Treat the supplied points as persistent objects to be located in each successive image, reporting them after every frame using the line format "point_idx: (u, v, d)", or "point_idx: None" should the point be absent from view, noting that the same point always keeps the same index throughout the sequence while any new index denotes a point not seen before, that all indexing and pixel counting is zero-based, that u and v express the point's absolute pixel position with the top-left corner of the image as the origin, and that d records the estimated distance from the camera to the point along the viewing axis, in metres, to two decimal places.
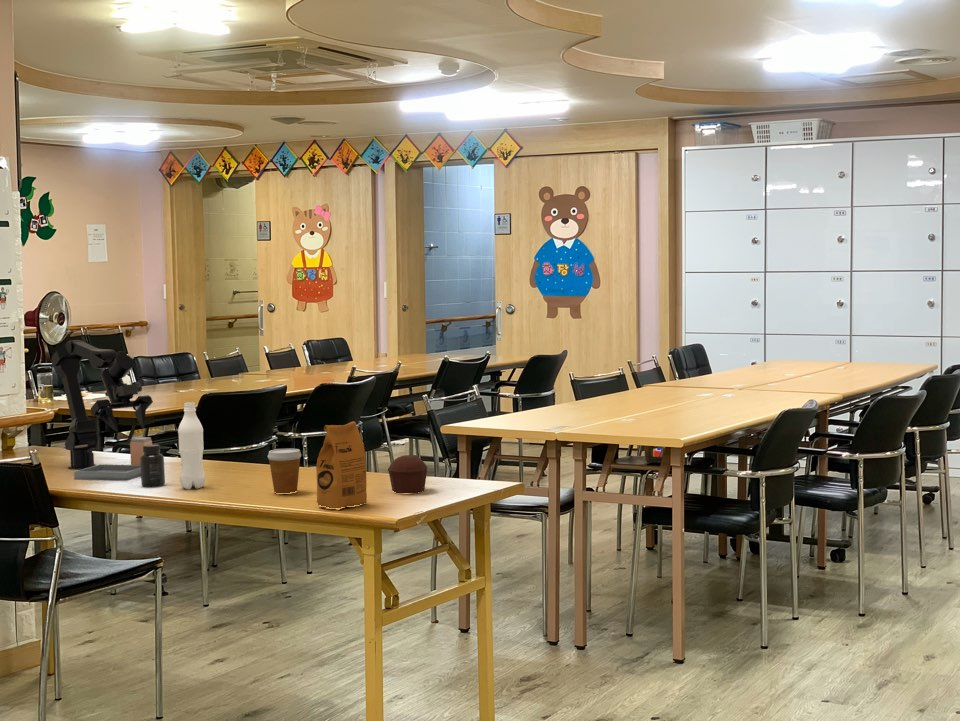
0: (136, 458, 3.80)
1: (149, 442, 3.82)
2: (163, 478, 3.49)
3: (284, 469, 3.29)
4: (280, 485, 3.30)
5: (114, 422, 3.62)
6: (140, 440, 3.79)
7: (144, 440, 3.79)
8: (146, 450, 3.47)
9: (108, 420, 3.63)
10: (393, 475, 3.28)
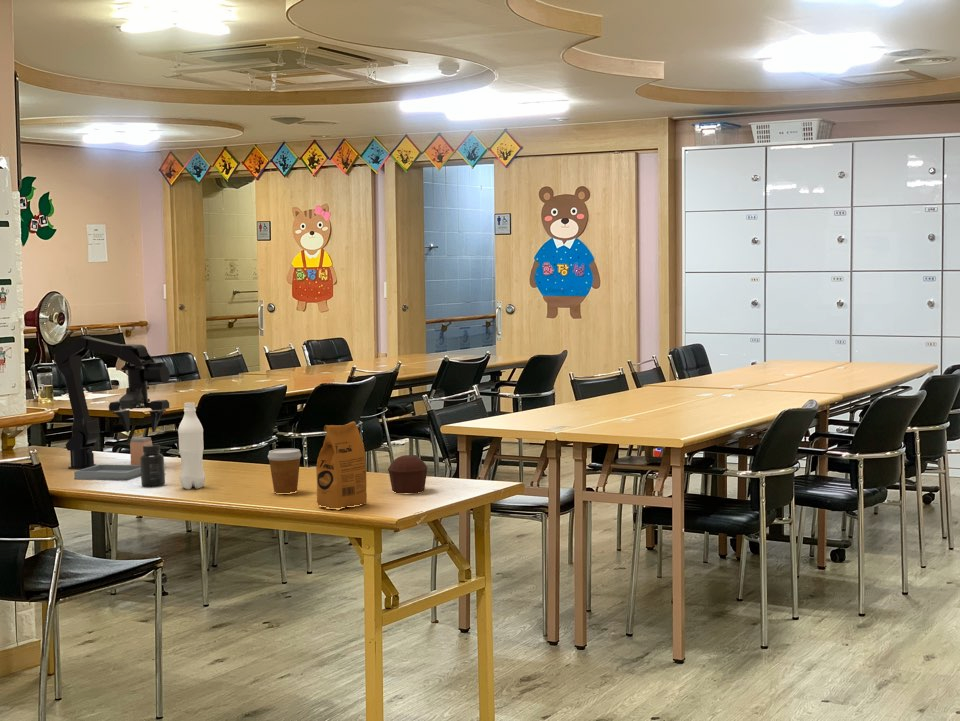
0: (136, 458, 3.80)
1: (149, 442, 3.82)
2: (163, 478, 3.49)
3: (284, 469, 3.29)
4: (280, 485, 3.30)
5: (124, 425, 3.81)
6: (140, 440, 3.79)
7: (144, 440, 3.79)
8: (146, 450, 3.47)
9: None
10: (393, 475, 3.28)
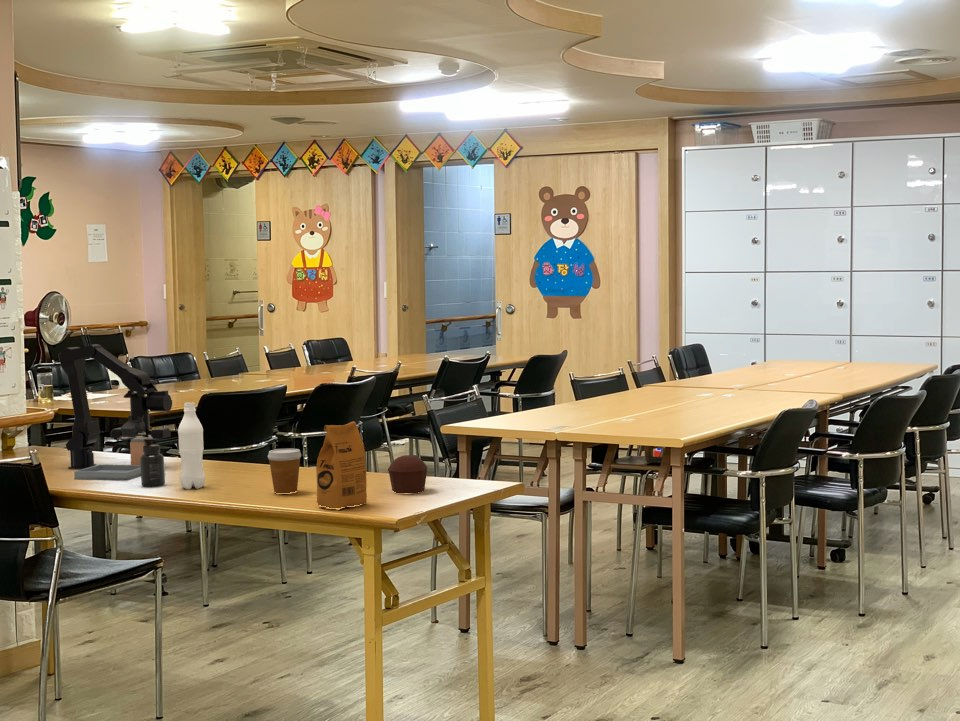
0: (136, 458, 3.80)
1: None
2: (163, 478, 3.49)
3: (284, 469, 3.29)
4: (280, 485, 3.30)
5: None
6: (140, 440, 3.79)
7: (144, 440, 3.79)
8: (146, 450, 3.47)
9: None
10: (393, 475, 3.28)
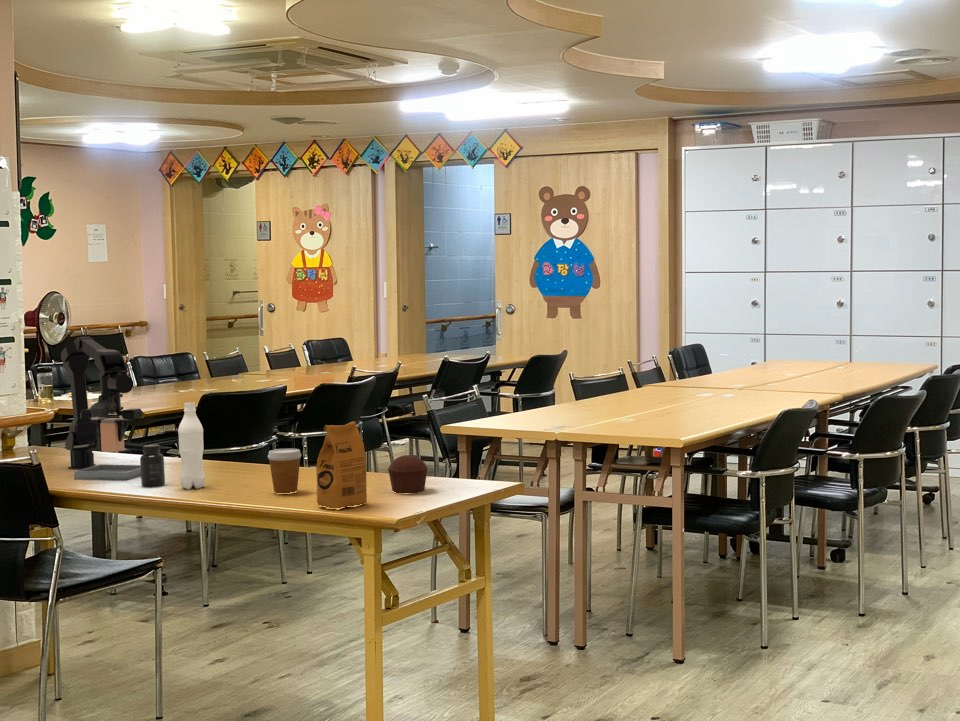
0: (107, 439, 3.67)
1: None
2: (163, 478, 3.49)
3: (284, 469, 3.29)
4: (280, 485, 3.30)
5: None
6: (111, 421, 3.66)
7: (115, 421, 3.66)
8: (146, 450, 3.47)
9: None
10: (393, 475, 3.28)
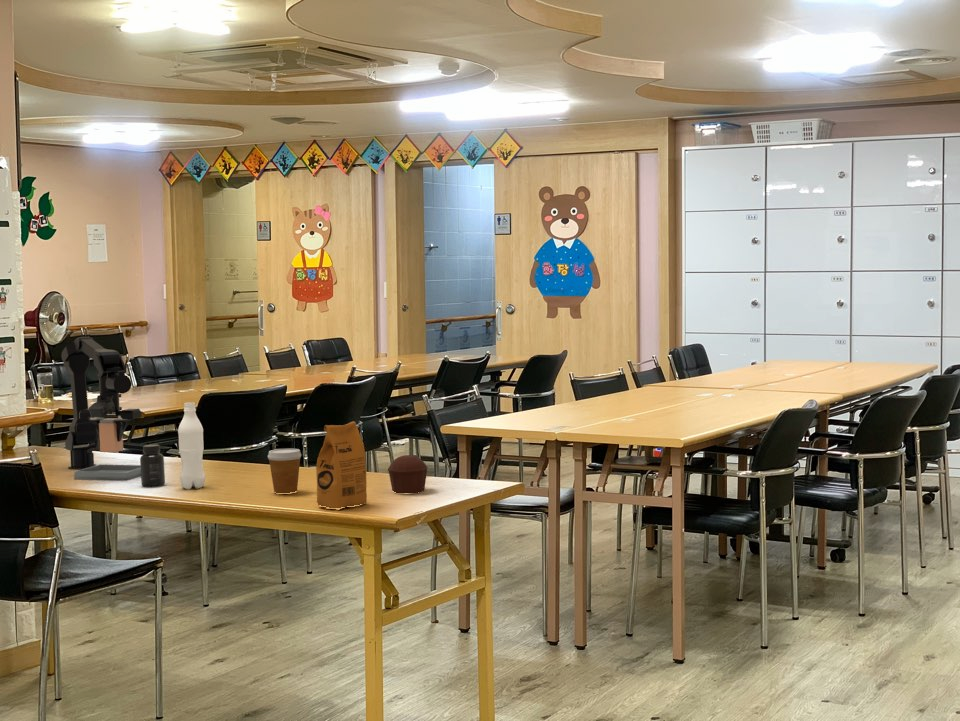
0: (105, 439, 3.66)
1: None
2: (163, 478, 3.49)
3: (284, 469, 3.29)
4: (280, 485, 3.30)
5: None
6: (109, 421, 3.65)
7: (114, 421, 3.66)
8: (146, 450, 3.47)
9: None
10: (393, 475, 3.28)
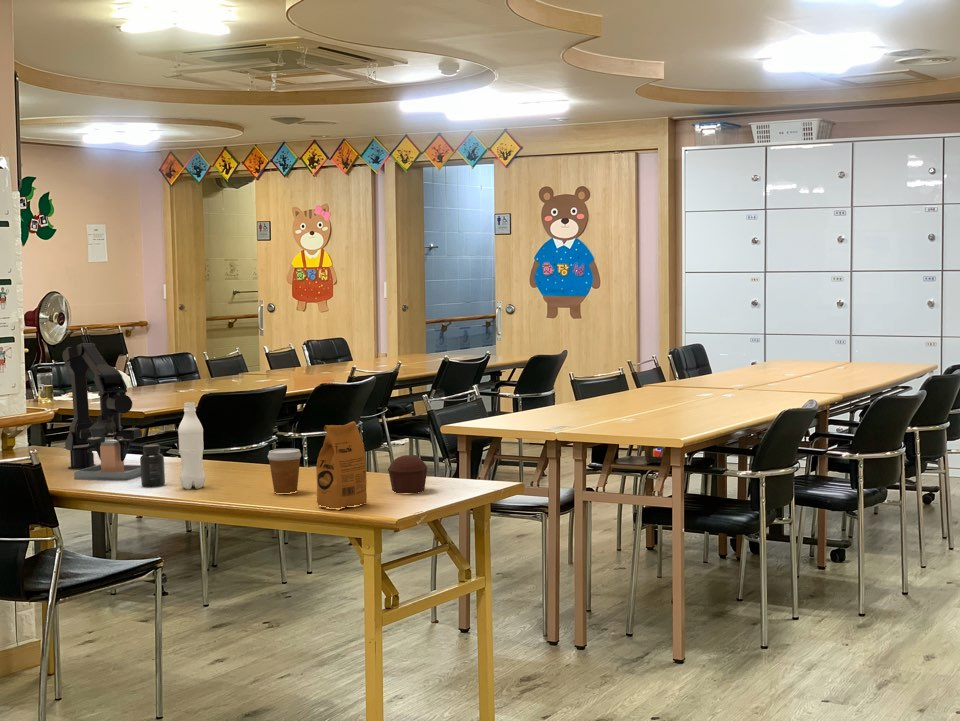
0: (106, 462, 3.67)
1: None
2: (163, 478, 3.49)
3: (284, 469, 3.29)
4: (280, 485, 3.30)
5: (98, 453, 3.69)
6: (110, 443, 3.66)
7: (115, 443, 3.66)
8: (146, 450, 3.47)
9: None
10: (393, 475, 3.28)
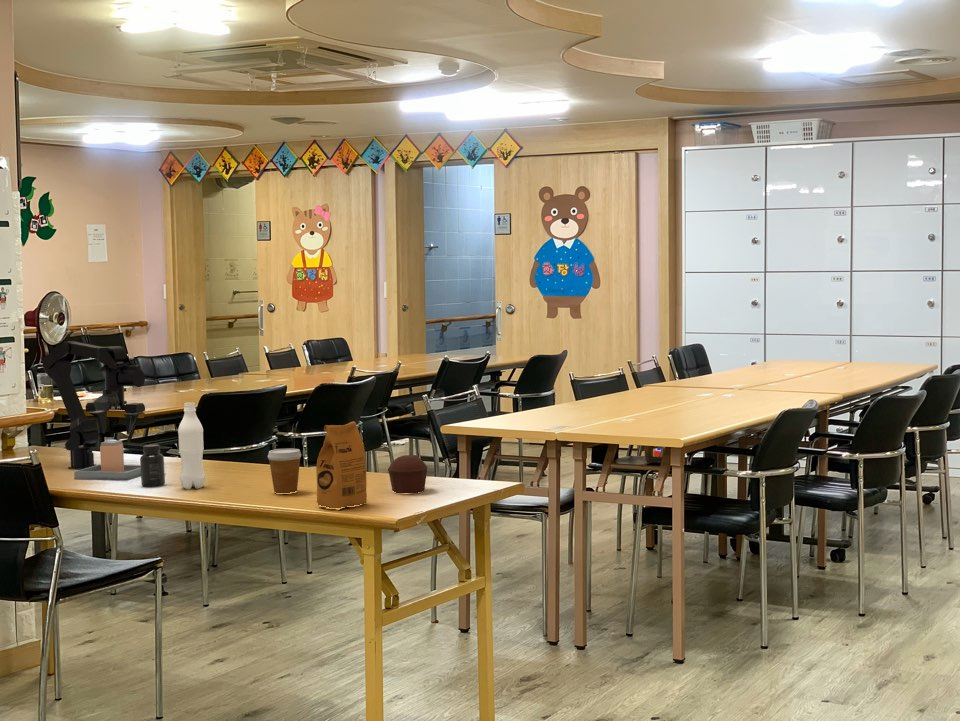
0: (106, 462, 3.67)
1: (120, 446, 3.69)
2: (163, 478, 3.49)
3: (284, 469, 3.29)
4: (280, 485, 3.30)
5: (100, 426, 3.81)
6: (110, 443, 3.66)
7: (115, 443, 3.66)
8: (146, 450, 3.47)
9: None
10: (393, 475, 3.28)
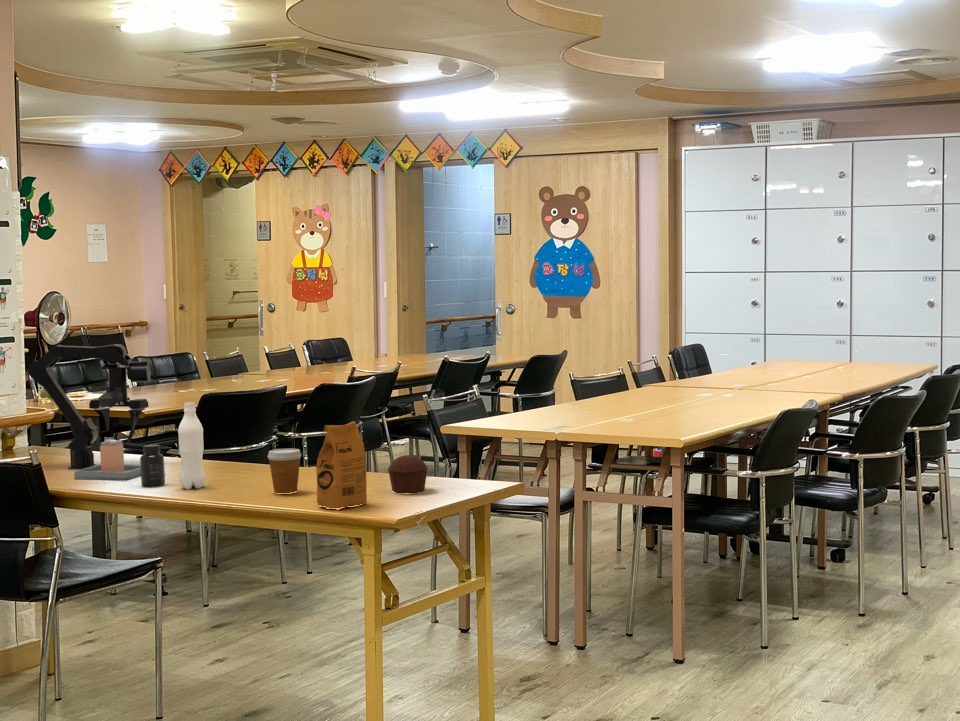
0: (106, 462, 3.67)
1: (120, 446, 3.69)
2: (163, 478, 3.49)
3: (284, 469, 3.29)
4: (280, 485, 3.30)
5: (104, 422, 3.88)
6: (110, 443, 3.66)
7: (115, 443, 3.66)
8: (146, 450, 3.47)
9: None
10: (393, 475, 3.28)
